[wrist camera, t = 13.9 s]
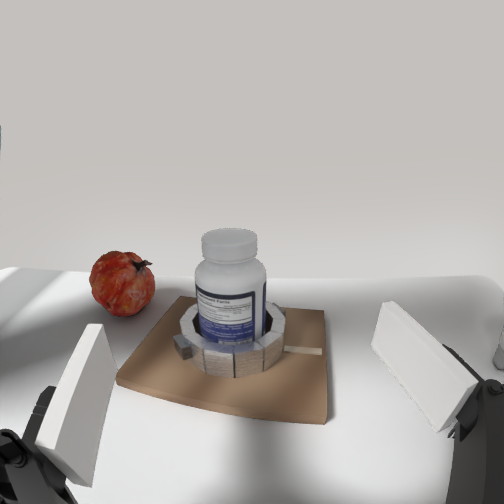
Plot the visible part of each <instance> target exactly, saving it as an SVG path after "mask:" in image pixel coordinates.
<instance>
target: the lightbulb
mask: <svg viewBox="0 0 504 504" xmlns="http://www.w3.org/2000/svg"><path fill="white" fill-rule="evenodd" d="M493 360H494V363H495V365H496V367H497V368H498V369H500V370H501V369H504V327H503V331H502V334H501V336H500V339H499V345H498V348H497V350H496V352H495V355H494V357H493Z"/></svg>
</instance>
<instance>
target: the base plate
mask: <svg viewBox="0 0 504 504" xmlns="http://www.w3.org/2000/svg"><path fill="white" fill-rule="evenodd" d="M195 304H197V298H192V297H185V296H180V297H179V298H178V299H177V300H176V302H175V303H174V304H173V305H172V306H171V307H170V309H169V310H168V311H167V312H166V313H165V315H164V316H163V317H162V318H161V319H160V321H159V322H158V323H157V324H156V325H155V327H154V328H153V329H152V330H151V331H150V333H149V334H148V335H147V336H146V338H145V339H144V340H143V341H142V342H141V344H140V345H139V346H138V347H137V349H136V350H135V351H134V352H133V353H132V355H131V356H130V357H129V358H128V360H127V361H126V362H125V363H124V365H123V366H122V367H121V368H120V369H119V371H118V372H117V374H116V378H115V380H116V382H117V385H119V386H122V387H125V388H128V389H131V390H134V391H137V392H140V393H144V394H147V395H150V396H153V397H157V398H160V399H164V400H168V401H171V402H175V403H179V404H183V405H187V406H191V407H196V408H200V409H205V410H209V411H214V412H219V413H225V414H230V415H236V416H242V417H249V418H256V419H263V420H272V421H281V422H291V423H305V424H324V425H325V422H326V419H327V363H326V339H325V321H324V311H323V310H309V309H296V308H284V307H281V308H282V309H284V310H285V311H286V318H285V331H284V342H283V349H282V355H281V357H280V359H279V360H278V361H277V362H276V363H274V364H273V365H272V366H271V367H270V368H268V369H267V370H266V371H265V372H264V371H262V373H259V374H255V375H251V376H246V377H242V378H237V379H236V378H235V376H234V379H232V378H226V377H220V376H214V375H209V374H207V372H206V373H204V372H202V371H201V370H200V369H198V368H197V367H196V366H194V365H193V364H191V363H190V362H189V361H188V359H187V360H184V361H183V359H182V358H181V356H180V355H179V354H178V352H177V351H176V349H175V346H174V341H173V336H176V335H179V334H182V332H181V326H180V319H181V318H182V317H183V315H184V314H185V313H186V311H187V310H188V308H189V307H191V306H193V305H195ZM265 334H266V333H265ZM200 336H201V334H200Z"/></svg>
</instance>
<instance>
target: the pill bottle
mask: <svg viewBox="0 0 504 504" xmlns="http://www.w3.org/2000/svg"><path fill="white" fill-rule="evenodd" d="M202 253H203V257H204V258H205V260H204V261H202V262H201V263H200V264H199V265H198V267H197V268H196V271H195V286H196V296H197V305H198V315H199V324H200V332H201V336H202V337H203V338H205V339H207V340H208V341H210V342H214V343H220V344H227V345H238V344H244V343H249V342H253V341H257V340H258V339H260V338H261V337H262V336H264V335H265V310H266V270H265V267H264V265H263V264H262V263H261V262H260V261H259V260H258V259H256V258H254V257H255V256H256V255H257V235H256V234H255V233H254V232H252V231H250V230H246V229H237V228H224V229H217V230H212V231H209V232H207V233H205V234H204V235H203V236H202Z"/></svg>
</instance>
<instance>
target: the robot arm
mask: <svg viewBox="0 0 504 504" xmlns="http://www.w3.org/2000/svg"><path fill="white" fill-rule="evenodd" d="M0 147H1V126H0ZM371 347H372V349H373V350H374V351H375V352H376V354H377V355H378V356H379V358H380V359H381V360H382V361H383V363H384V364H385V365H386V366H387V368H388V369H389V370H390V372H391V373H392V374H393V375H394V377H395V378H396V379H397V381H398V382H399V383H400V385H401V386H402V387H403V388H404V390H405V391H406V392H407V394H408V395H409V396H410V398H411V399H412V400H413V402H414V403H415V404H416V406H417V407H418V408H419V410H420V411H421V412H422V414H423V415H424V416H425V418H426V419H427V420H428V422H429V423H430V424H431V426H432V427H433V429H434V430H435V431H436V433H438V432H440V431H442V430H444V429H445V428H447V427H449V425H450V424H451V423H452V421H453V420H454V419H455V417H456V419H457V420H458V422H457V423H456V425H455V426H454V427H453V429H452V430H451V431H450V433H449V434H448V437H447V438H450V436H451V435H452V434H453V433H454V431H455V435H454V436H453V437H452V438H454V439H455V440H454V452H453V461H452V469H451V477H450V483H449V489H448V494H447V499H446V504H504V384H501V383H500V382H498V381H497V380H493V379H488V380H486V381H484V380H483V379H482V378H481V377H480V376H479V375H478V374H477V373H476V372H475V371H474V370H473V369H472V368H471V367H470V366H469V365H468V364H467V363H466V362H464V360H463V359H462V358H461V357H459V355H458V354H457V353H456V352H455V351H454V350H453V349H451V348H449V347H447V346H445V345H444V344H442V345H441V344H440V343H439V342H438V341H437V340H436V339H435V338H434V337H433V336H432V335H431V334H430V333H429V332H428V331H427V330H425V329H424V328H423V327H422V326H421V325H420V324H419V323H418V322H417V321H416V320H415V319H413V318H412V317H411V316H410V315H409V314H408V313H407V312H406V311H405V310H404V309H402V308H401V307H400V306H399V305H398V304H397V303H396V302H395V301H390V302H384V303H382V305H381V309H380V313H379V317H378V321H377V325H376V329H375V332H374V336H373V339H372V343H371ZM117 371H118V369H117V366H116V364H115V361H114V358H113V355H112V352H111V349H110V346H109V343H108V340H107V336H106V333H105V330H104V326H103V324H88V325H87V327H86V328H85V330H84V332H83V334H82V336H81V338H80V340H79V342H78V344H77V346H76V348H75V350H74V352H73V354H72V356H71V358H70V360H69V362H68V364H67V366H66V368H65V370H64V372H63V374H62V377H61V379H60V381H59V383H58V386H57V387H54V386H48V387H47V388H46V389H45V390H44V391H43V392H42V393H41V394H40V396H39V399H38V401H37V403H36V406H35V408H34V410H33V414H31V417H30V419H29V422H28V424H27V427H26V429H25V432H24V434H23V437H22V439H20V438H19V436H18V435H17V434H16V433H15V432H13V431H12V430H9V429H1V430H0V504H78V503H77V501H76V500H75V498H74V496H73V495H72V493H71V492H70V490H69V488H68V487H67V486H66V484H65V481H66V477H67V478H68V479H69V480H70V481H71V482H72V483H73V484H77V485H81V486H86V487H90V488H92V483H93V477H94V470H95V465H96V459H97V454H98V449H99V444H100V439H101V434H102V430H103V425H104V421H105V417H106V412H107V408H108V404H109V400H110V396H111V393H112V389H113V385H114V381H115V378H116V374H117Z"/></svg>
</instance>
